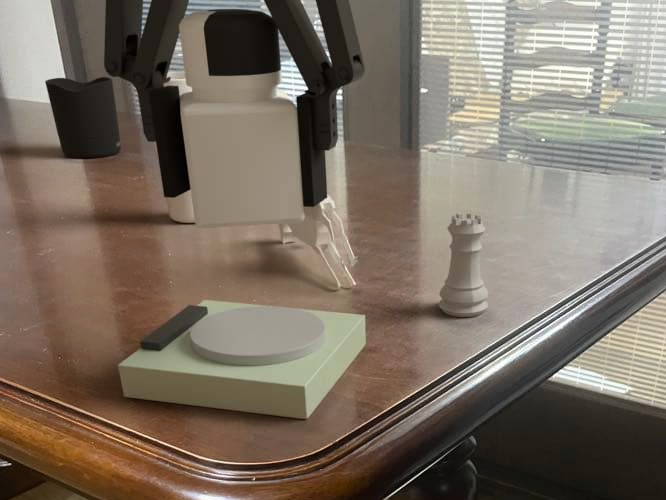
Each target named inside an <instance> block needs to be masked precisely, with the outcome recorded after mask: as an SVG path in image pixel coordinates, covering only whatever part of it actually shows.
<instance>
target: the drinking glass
mask: <svg viewBox="0 0 666 500" xmlns="http://www.w3.org/2000/svg"><path fill="white" fill-rule="evenodd" d="M168 77H171V79H170V81H169V82H167V83H164V87H165V86H178V87H179V94H180V96H181V95H182V94H183V93H187V92H192V87H189V86H187V85H186V78H185V71H168V74H167V77H166V78H168ZM153 146H154V150H155V154H156V158H157V163H158V164H159V159H158V152H157V146H156V142H153ZM158 167H159V168H160V166H159V165H158ZM165 198H166V204H167V210H168V216H169V217H170V219H171V220H173V221H174V222H176V223H183V224H195V218H194V211H193V203H192V196H191V190H189V191H187V192H185V193H183V194H181V195H179V196H177V197H175V198H169V197H165Z"/></svg>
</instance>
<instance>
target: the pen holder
mask: <svg viewBox="0 0 666 500" xmlns="http://www.w3.org/2000/svg"><path fill="white" fill-rule="evenodd" d="M113 82H114V81H113V78H111V77H107V76H102V77H101V76H100V77H98V78H95V79H92V80H90V81H87V82H81V81H77V80H74V79H71V78H68V77H67V78H65V77H54V78H50V79H49V78H48V79H46V80H45V87H46V91H47V95H48V99H49V103H50V104H49V105H50V108H51V112H52V115H53V119H54V124H55V128H56V133H57V136H58V140H59V144H60V148H61V151H62V153H63V154H64V156H65V157H68V158H75V159H96V158H105V157H111V156H115V155H117V154H119V153H121V149H122V145H121V144H122V143H121V137H120V128H119V120H118V113H117V106H116V105H117V104H116V98H115V91H114V84H113Z"/></svg>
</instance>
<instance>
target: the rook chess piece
mask: <svg viewBox="0 0 666 500" xmlns="http://www.w3.org/2000/svg"><path fill="white" fill-rule="evenodd" d="M446 230H447V231H448V232H449V234H450V236H451V243H450V245H449V248H450V251H451V252H450V264H449V269H448V270H449V271H448V275H447V278H446V279H445V280H444V285H443V286H442V287H441V288H440V290H439V293H438V294H439V297H440V298H441V299H439V302H438V304H437V305H438V306H439V308H440V309H441V311H442V313H444V314H446V315H448V316H451V317H457V318H472V317H477V316H480V315H482V314H484V312H485V311H486V310H487V309H488V308H489V303H488V301H486V300H487V298H488V297H489V291H488V290H487V288H486V286H485V285H484V283H485V281H484V280H483V279H482V273H481V264H480V261H481V260H480V252H481V250H482V248H483V246H482V245H481V236H482V235H483V234H484V232H485V231H486V230H487V228H486V227H485V225H484V224H483V217H482V216H481V215H480V214H478V213H477V214H474V218H473V213H472V212H466V218H463V213H461V212H459V213H456V215H455V214H453V215H452V216H451V222H450V224H448V226H447V227H446Z"/></svg>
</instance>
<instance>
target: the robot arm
mask: <svg viewBox="0 0 666 500" xmlns="http://www.w3.org/2000/svg"><path fill="white" fill-rule="evenodd" d="M189 2H190V0H150V4H149V9H148V11H147V16H146V19H145V23H144V27H143V12H144V11H143V10H144V0H105V13H104V14H105V16H104V47H103V48H104V49H103V50H104V51H103V53H104V54H103V67H104V69H105V72H106V73H107V74H108V76H111V77H113V78H117V77H118V78H120V79H123V80H125V81H127V82H128V83H130V84H131V85H132V86H133V87H134V89H135V91H136V93H137V99H138V106H139V111H140V117H141V123H142V130H143V135H144V137H145V139H146V141H147V142H149V143H154V142H156V146H157V152H158V158H157V160H158V159H159V163H158V167H159V166H160V167H159V171H160V172H159V173H160V178H161V184H162V191H163V192H162V193H163V197H164V198H166V197H169V198H175V197H177V196H179V195H181V194H183V193H185V192H187V191H189V190H191V188H190V181H189V173H188V166H187V158H186V151H185V143H184V136H183V128H182V121H181V111H180V94H179V87H178V86H165V87H164V83H167V82H169V81H170V79H171V77H168V78H166V77H167V74H168V72H169V70H170V67H171V63H172V59H173V57H174V53H175V50H176V47H177V43H178V39H179V37H180V31H179V24H180V22H181V21H182V19H183V18H185V17H186V12H187V10H188V6H189ZM263 2H264V4H265V5H266V8H267V10H268V12H269V13H270V14H269V15H270V16H271V17H272V18H273V20H274V22H275V24H276V26H277V28H278V33H279V34H280V36H281V38H282V41H283V42H284V44H285V45H286V48H287V50H288V51H289V54H290V56H291V58H292V60H293V62H294V64H295V65H296V68H297V70H298V72H299V74H300V76H301V78H302V80H303V82H304V84H305V86H306V88H307V89H306V90H304V93H302V94H299V95H297V96H296V97H295V100H296V101H295V102H296V107H297V117H298V132H299V148H300V163H301V178H302V194H303V206H305V207H315V206H316V205H318V204H319V203H320V202H322V201H323V200H325V199H326V198H327V194H328V181H327V162H326V151H329V152H330V151H331V150H332V149H334V148H335V147H336V146H337V143H338V140H339V130H338V129H339V128H338V127H339V125H338V108H337V107H338V105H337V95H338V92H339V90H340V89H341V88H343V87H344V86H347V85H349V84H352V83H354V82H356V81H358V80H361V79H362V78H363V77H364V75H365V72H366V67H365V66H366V65H365V63H364V59H363V54H362V50H361V46H360V41H359V37H358V32H357V28H356V25H355V20H354V16H353V12H352V8H351V3H350V0H315V3H316V8H317V12H318V16H319V20H320V23H321V24H320V25H321V27H322V32H323V36H324V39H325V43H326V47H327V51H328V54H327V52H326V50H325V47H324V45H323V44H322V42H321V39H320V37H319V34H318V33H317V31H316V29H315V27H314V25H313V23H312V20H311V19H310V17H309V14H308V12H307V11H306V9H305V8H306V7H304V3H303V2H302V0H263ZM142 29H143V30H142ZM328 55H329V57H328Z"/></svg>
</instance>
